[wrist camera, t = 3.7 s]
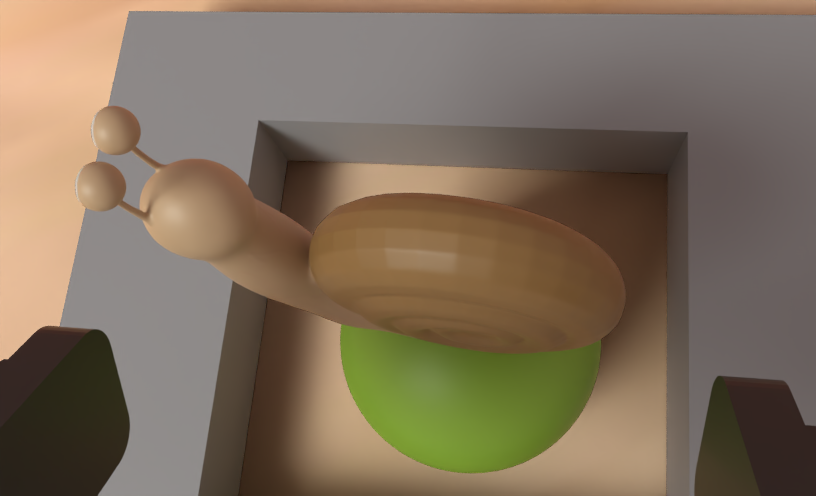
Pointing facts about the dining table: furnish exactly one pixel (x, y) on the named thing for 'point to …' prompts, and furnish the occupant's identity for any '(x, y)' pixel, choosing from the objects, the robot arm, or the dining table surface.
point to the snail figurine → (404, 298)
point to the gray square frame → (462, 147)
